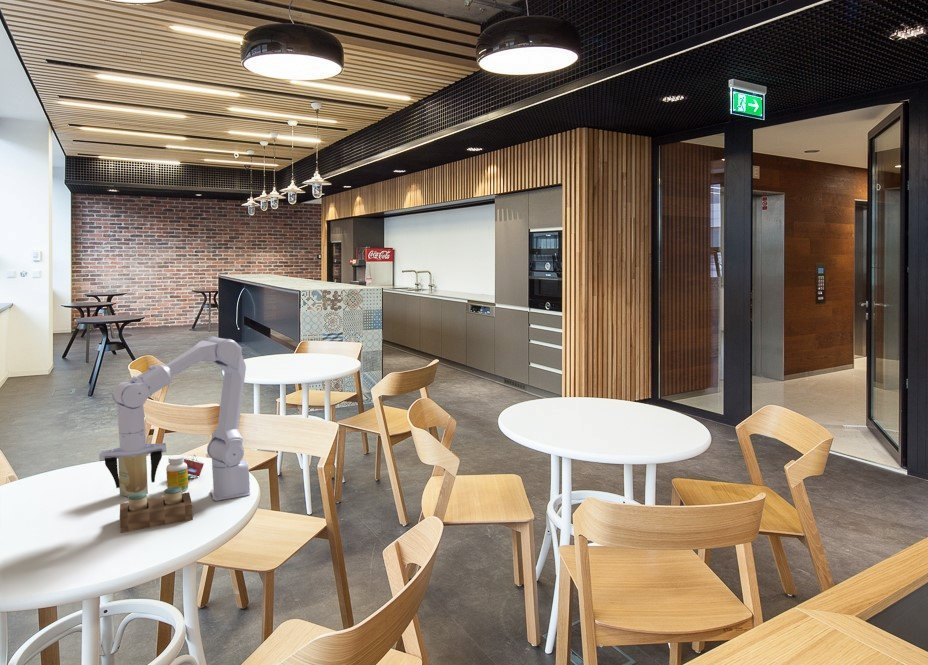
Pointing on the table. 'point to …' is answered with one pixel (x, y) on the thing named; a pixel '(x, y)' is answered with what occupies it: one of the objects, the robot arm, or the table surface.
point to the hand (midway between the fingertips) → (135, 483)
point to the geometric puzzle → (193, 466)
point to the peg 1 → (137, 501)
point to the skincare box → (133, 474)
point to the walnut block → (155, 513)
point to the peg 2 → (173, 495)
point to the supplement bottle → (177, 472)
